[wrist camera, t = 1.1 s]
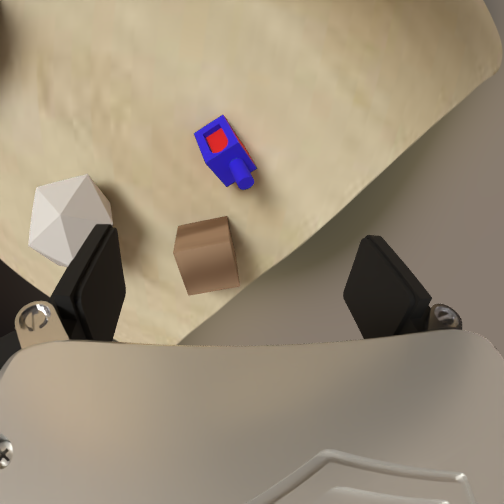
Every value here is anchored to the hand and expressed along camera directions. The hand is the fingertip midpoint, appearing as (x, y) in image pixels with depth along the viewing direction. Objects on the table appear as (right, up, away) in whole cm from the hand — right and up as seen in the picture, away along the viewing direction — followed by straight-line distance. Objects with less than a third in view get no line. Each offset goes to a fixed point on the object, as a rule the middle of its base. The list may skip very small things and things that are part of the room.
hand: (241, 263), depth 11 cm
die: (-17, +5, +16) cm, 24 cm away
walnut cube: (-4, +1, +20) cm, 20 cm away
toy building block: (-2, +10, +15) cm, 18 cm away
